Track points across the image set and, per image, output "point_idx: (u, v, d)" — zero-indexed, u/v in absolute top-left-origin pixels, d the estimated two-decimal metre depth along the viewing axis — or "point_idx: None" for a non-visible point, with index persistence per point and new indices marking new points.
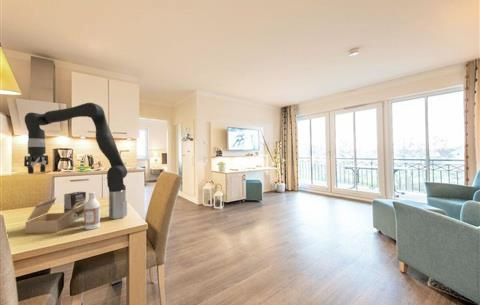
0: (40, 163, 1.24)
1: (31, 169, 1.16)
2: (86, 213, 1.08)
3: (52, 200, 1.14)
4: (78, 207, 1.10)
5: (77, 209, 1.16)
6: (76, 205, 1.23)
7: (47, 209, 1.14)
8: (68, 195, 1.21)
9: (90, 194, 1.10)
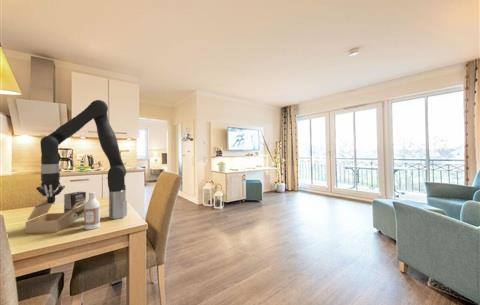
0: (48, 193, 1.09)
1: None
2: (86, 213, 1.08)
3: None
4: (78, 207, 1.10)
5: (77, 209, 1.16)
6: (76, 205, 1.23)
7: (47, 209, 1.14)
8: (68, 195, 1.21)
9: (90, 194, 1.10)
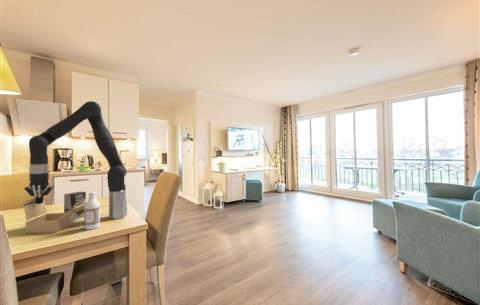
0: (36, 193, 1.08)
1: None
2: (86, 213, 1.08)
3: None
4: (78, 207, 1.10)
5: (77, 209, 1.16)
6: (76, 205, 1.23)
7: (43, 208, 1.14)
8: (68, 195, 1.21)
9: (90, 194, 1.10)
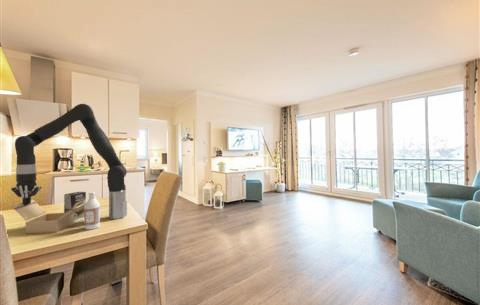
0: (24, 193, 1.07)
1: None
2: (86, 213, 1.08)
3: None
4: (78, 207, 1.10)
5: (77, 209, 1.16)
6: (76, 205, 1.23)
7: (39, 209, 1.13)
8: (68, 195, 1.21)
9: (90, 194, 1.10)
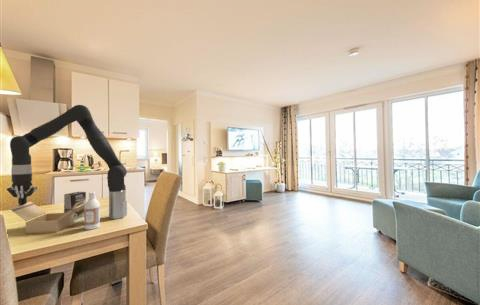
0: (19, 194, 1.07)
1: None
2: (86, 212, 1.08)
3: (28, 203, 1.12)
4: (78, 207, 1.10)
5: (77, 209, 1.16)
6: (76, 205, 1.23)
7: (39, 210, 1.13)
8: (68, 195, 1.21)
9: (90, 194, 1.10)
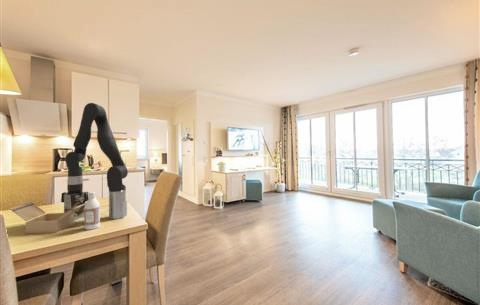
0: None
1: None
2: (86, 213, 1.08)
3: (28, 203, 1.12)
4: (78, 207, 1.10)
5: (77, 209, 1.16)
6: (76, 205, 1.23)
7: (39, 210, 1.13)
8: (68, 195, 1.21)
9: (90, 194, 1.09)
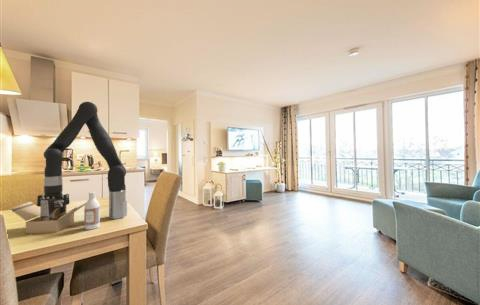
0: None
1: None
2: (86, 212, 1.08)
3: (28, 203, 1.12)
4: (78, 207, 1.10)
5: (77, 209, 1.16)
6: (55, 212, 1.08)
7: (39, 210, 1.13)
8: (45, 201, 1.06)
9: (90, 194, 1.10)
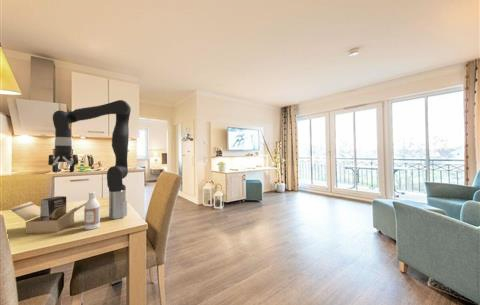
0: (55, 163, 1.17)
1: None
2: (86, 213, 1.08)
3: (28, 203, 1.12)
4: (78, 207, 1.10)
5: (77, 209, 1.16)
6: (55, 212, 1.08)
7: (39, 210, 1.13)
8: (45, 201, 1.06)
9: (90, 194, 1.10)
